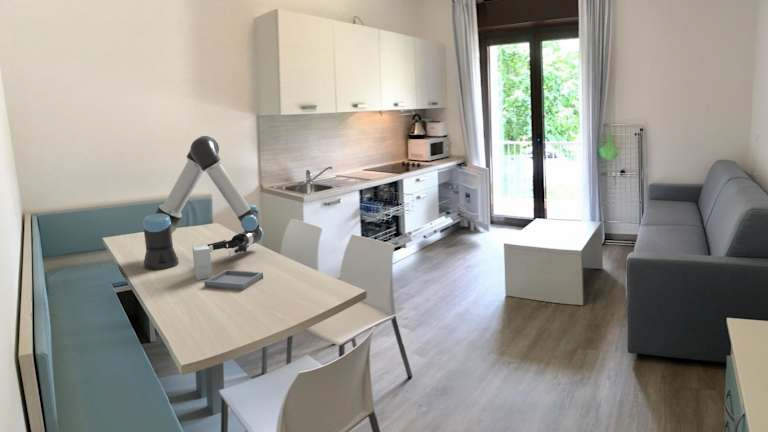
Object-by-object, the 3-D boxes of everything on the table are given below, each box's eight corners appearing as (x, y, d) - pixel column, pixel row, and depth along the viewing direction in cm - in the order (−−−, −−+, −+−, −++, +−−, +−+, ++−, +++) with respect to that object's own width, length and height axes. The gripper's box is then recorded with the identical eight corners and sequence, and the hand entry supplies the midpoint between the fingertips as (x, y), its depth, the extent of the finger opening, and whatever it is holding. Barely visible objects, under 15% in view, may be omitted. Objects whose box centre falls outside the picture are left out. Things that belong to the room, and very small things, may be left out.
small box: (212, 277, 239) (209, 248, 237) (197, 280, 237) (194, 250, 234) (209, 272, 246) (207, 244, 244) (194, 275, 244) (191, 246, 241)
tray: (204, 286, 228) (204, 281, 227) (226, 275, 243) (226, 269, 242) (243, 290, 222) (242, 284, 222) (263, 278, 237) (262, 272, 237)
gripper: (265, 249, 267) (241, 262, 247) (220, 246, 274) (194, 259, 255) (264, 234, 265) (240, 245, 245) (219, 232, 273) (192, 243, 253)
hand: (216, 252), depth 250 cm, fingers open, 13 cm apart
